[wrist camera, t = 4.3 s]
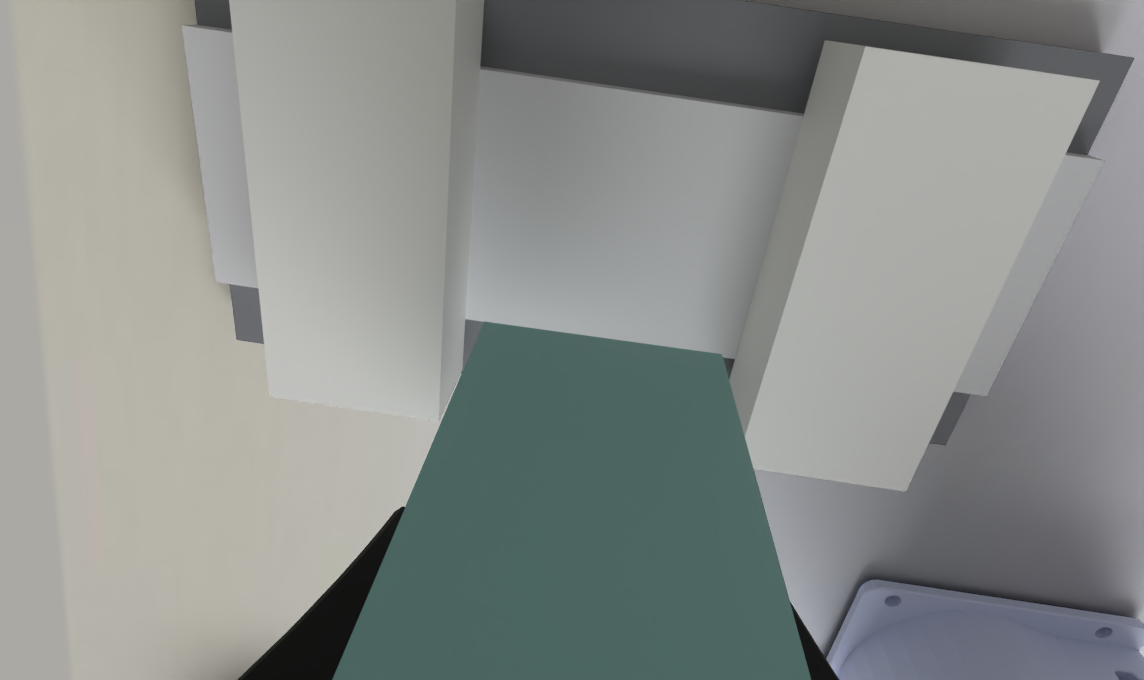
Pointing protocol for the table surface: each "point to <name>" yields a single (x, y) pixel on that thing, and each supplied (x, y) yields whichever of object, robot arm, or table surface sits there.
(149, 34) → the table surface
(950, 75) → the rail board
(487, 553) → the block
